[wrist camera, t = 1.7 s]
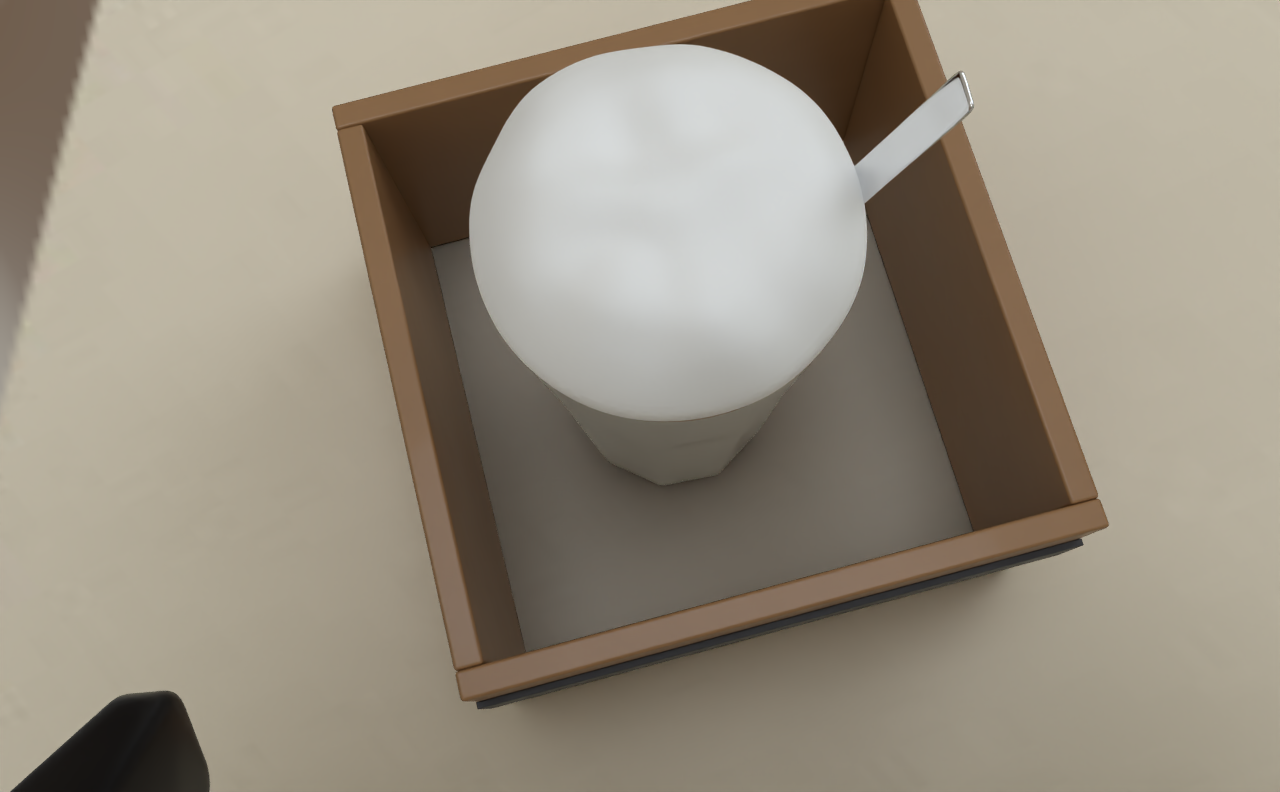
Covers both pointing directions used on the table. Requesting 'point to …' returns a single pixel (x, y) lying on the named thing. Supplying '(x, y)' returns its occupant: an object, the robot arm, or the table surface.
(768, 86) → the milkshake
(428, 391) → the carton
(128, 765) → the robot arm
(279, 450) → the table surface
